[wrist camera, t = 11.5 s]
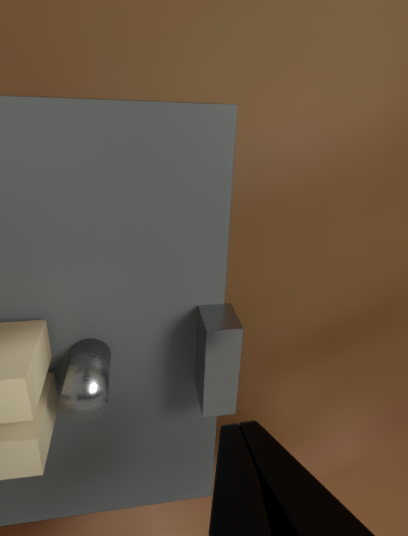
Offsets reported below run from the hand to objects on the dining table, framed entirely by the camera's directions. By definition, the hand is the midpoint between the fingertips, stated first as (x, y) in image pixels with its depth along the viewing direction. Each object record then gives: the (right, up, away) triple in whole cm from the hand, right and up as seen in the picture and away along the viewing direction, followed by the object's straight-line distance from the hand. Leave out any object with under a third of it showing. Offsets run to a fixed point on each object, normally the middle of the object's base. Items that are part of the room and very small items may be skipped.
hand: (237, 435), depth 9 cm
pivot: (-2, +1, +3) cm, 4 cm away
